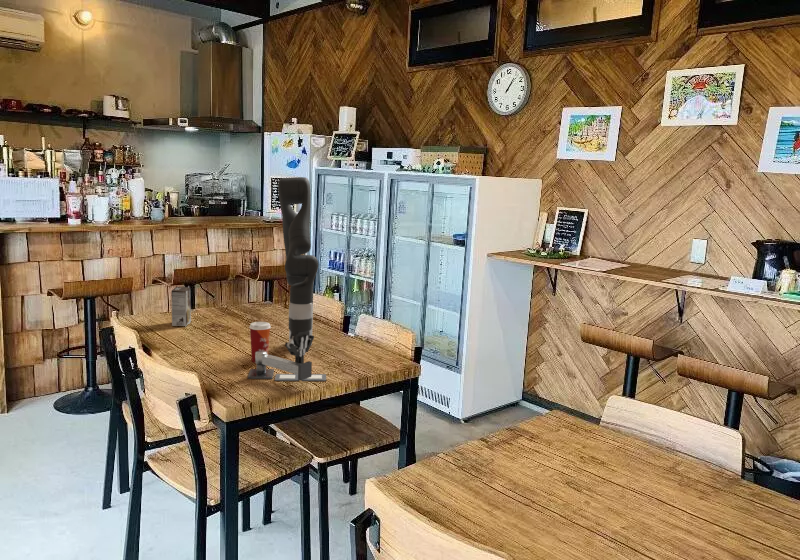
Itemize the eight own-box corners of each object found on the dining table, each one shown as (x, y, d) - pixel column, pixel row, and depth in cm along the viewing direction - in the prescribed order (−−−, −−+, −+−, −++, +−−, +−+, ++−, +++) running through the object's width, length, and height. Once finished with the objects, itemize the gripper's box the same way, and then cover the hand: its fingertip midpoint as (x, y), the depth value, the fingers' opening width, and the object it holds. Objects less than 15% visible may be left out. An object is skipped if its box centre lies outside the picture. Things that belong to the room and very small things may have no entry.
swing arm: (251, 365, 206) (251, 351, 205) (262, 362, 210) (262, 348, 209) (300, 380, 194) (301, 365, 193) (311, 376, 198) (311, 361, 197)
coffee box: (176, 321, 273) (176, 286, 270) (191, 322, 274) (191, 286, 271) (171, 326, 264) (170, 290, 261) (186, 327, 265) (186, 290, 262)
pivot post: (250, 371, 211) (250, 359, 210) (273, 371, 212) (274, 359, 211) (247, 378, 203) (247, 366, 203) (272, 378, 204) (272, 366, 204)
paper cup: (265, 364, 219) (265, 327, 216) (245, 362, 220) (245, 325, 218) (273, 358, 226) (274, 322, 224) (254, 356, 228) (255, 320, 225)
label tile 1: (276, 375, 208) (276, 373, 208) (299, 375, 209) (299, 373, 209) (274, 380, 202) (274, 379, 202) (299, 381, 204) (299, 379, 203)
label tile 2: (302, 375, 210) (302, 373, 209) (325, 375, 211) (326, 373, 211) (302, 381, 204) (302, 379, 204) (326, 381, 205) (326, 379, 205)
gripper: (303, 309, 205) (302, 358, 209) (278, 317, 194) (277, 369, 197) (321, 313, 202) (320, 363, 205) (297, 321, 191) (296, 374, 194)
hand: (299, 366), depth 201 cm, fingers closed
